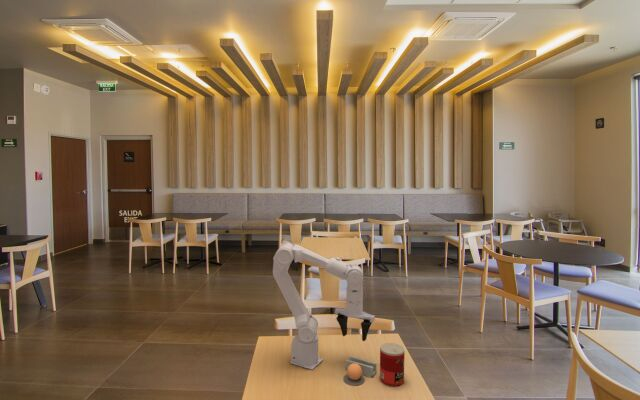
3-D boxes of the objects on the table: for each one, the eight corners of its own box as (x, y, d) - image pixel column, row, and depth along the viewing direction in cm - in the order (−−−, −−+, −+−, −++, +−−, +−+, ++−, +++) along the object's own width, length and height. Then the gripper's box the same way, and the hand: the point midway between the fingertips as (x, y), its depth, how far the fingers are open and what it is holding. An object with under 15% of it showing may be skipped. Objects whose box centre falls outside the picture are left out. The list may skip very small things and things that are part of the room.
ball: (344, 379, 125) (344, 365, 124) (350, 372, 129) (351, 358, 128) (358, 384, 122) (359, 370, 122) (364, 377, 126) (364, 363, 126)
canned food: (399, 389, 120) (399, 356, 119) (376, 381, 124) (376, 349, 123) (407, 377, 126) (407, 346, 125) (384, 371, 131) (385, 340, 130)
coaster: (339, 381, 124) (339, 381, 124) (349, 371, 130) (349, 370, 130) (359, 387, 121) (359, 387, 121) (367, 377, 127) (367, 376, 127)
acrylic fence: (345, 369, 131) (345, 360, 131) (349, 365, 134) (349, 356, 134) (372, 377, 126) (372, 367, 126) (376, 373, 129) (376, 363, 129)
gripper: (378, 300, 133) (377, 337, 134) (341, 293, 140) (341, 329, 141) (370, 306, 127) (370, 345, 128) (332, 299, 134) (332, 336, 135)
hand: (354, 337), depth 134 cm, fingers open, 7 cm apart
